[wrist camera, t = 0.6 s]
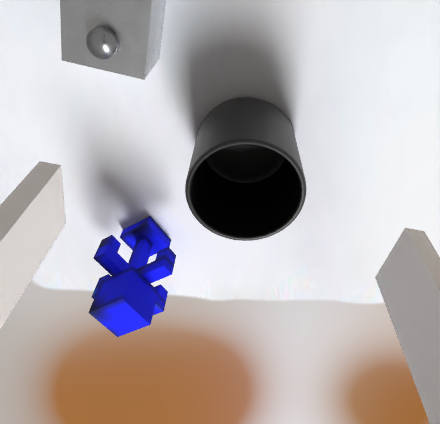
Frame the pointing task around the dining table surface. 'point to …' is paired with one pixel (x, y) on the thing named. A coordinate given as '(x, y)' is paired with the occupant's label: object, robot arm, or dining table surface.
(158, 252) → the figurine
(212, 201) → the mug
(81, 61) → the block
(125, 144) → the dining table surface
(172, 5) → the dining table surface
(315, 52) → the dining table surface
